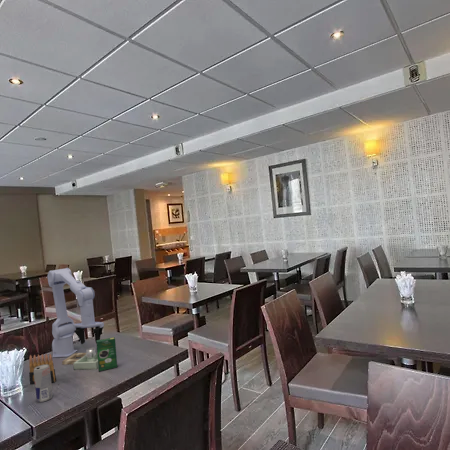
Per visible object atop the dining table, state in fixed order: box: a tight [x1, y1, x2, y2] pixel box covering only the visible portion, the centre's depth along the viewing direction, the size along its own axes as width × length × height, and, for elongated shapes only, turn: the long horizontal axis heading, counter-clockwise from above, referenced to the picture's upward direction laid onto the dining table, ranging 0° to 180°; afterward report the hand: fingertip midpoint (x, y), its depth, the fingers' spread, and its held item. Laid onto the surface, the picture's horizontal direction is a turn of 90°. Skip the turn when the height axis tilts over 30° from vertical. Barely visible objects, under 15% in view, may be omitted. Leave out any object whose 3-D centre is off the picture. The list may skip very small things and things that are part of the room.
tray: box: [72, 353, 99, 371], centre depth 155 cm, size 11×11×3 cm
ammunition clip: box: [28, 353, 57, 386], centre depth 141 cm, size 11×2×12 cm, turn 84°
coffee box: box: [96, 336, 118, 372], centre depth 148 cm, size 8×3×13 cm, turn 110°
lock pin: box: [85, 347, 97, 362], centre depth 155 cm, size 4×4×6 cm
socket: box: [61, 352, 86, 365], centre depth 163 cm, size 10×10×2 cm
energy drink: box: [34, 364, 54, 403], centre depth 126 cm, size 5×5×12 cm
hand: (90, 343), depth 157 cm, fingers open, 7 cm apart
